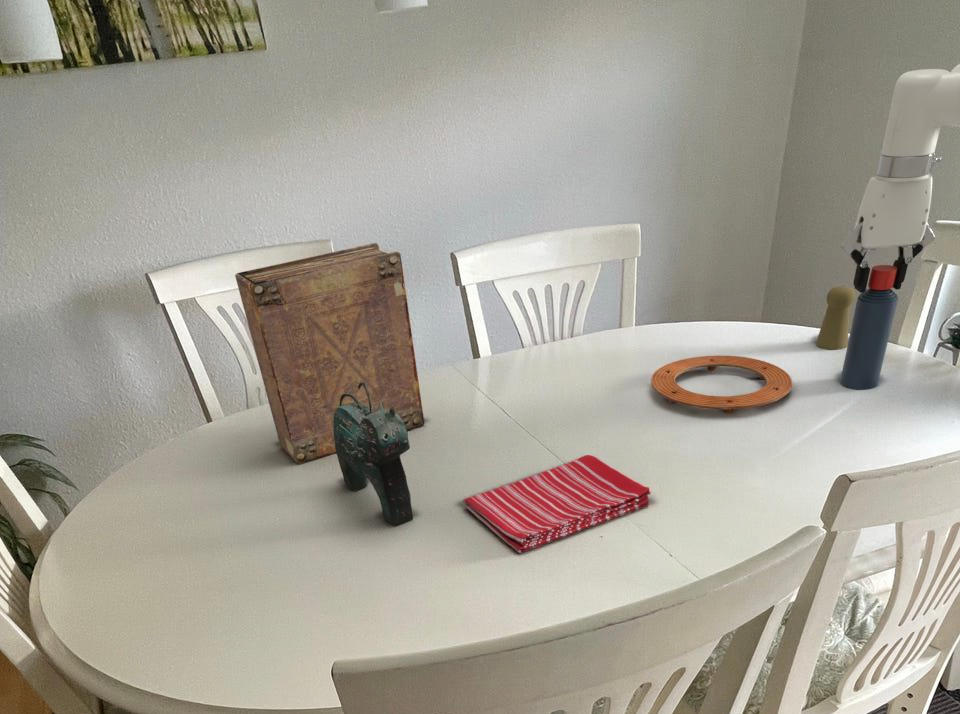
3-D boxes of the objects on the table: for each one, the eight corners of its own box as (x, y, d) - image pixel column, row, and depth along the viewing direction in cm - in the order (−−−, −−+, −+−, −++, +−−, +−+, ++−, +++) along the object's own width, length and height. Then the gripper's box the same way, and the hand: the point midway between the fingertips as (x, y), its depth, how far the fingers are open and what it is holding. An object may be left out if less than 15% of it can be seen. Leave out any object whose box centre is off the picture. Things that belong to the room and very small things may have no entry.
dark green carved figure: (425, 521, 118) (406, 393, 105) (387, 536, 115) (363, 406, 103) (367, 475, 131) (344, 356, 119) (332, 488, 129) (305, 368, 116)
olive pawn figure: (814, 348, 159) (825, 291, 152) (816, 338, 163) (827, 283, 156) (846, 350, 157) (858, 292, 150) (848, 340, 161) (859, 283, 154)
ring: (765, 361, 156) (767, 348, 154) (811, 411, 136) (813, 397, 135) (639, 372, 157) (639, 360, 155) (666, 424, 137) (667, 411, 135)
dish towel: (655, 504, 116) (656, 488, 114) (520, 556, 108) (519, 540, 106) (588, 463, 128) (588, 448, 126) (462, 507, 120) (460, 492, 118)
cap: (874, 282, 135) (878, 263, 134) (897, 285, 133) (901, 266, 131) (863, 288, 134) (867, 269, 132) (886, 291, 131) (890, 272, 129)
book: (403, 410, 152) (378, 242, 133) (425, 425, 145) (401, 250, 126) (280, 447, 143) (234, 273, 124) (296, 465, 136) (251, 284, 118)
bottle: (883, 381, 144) (911, 268, 131) (867, 392, 140) (894, 278, 128) (850, 373, 147) (874, 264, 135) (833, 384, 144) (856, 273, 132)
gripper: (948, 158, 125) (918, 278, 136) (840, 168, 126) (818, 287, 137) (971, 165, 119) (937, 290, 130) (857, 176, 120) (834, 299, 131)
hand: (877, 287), depth 134 cm, fingers open, 5 cm apart
